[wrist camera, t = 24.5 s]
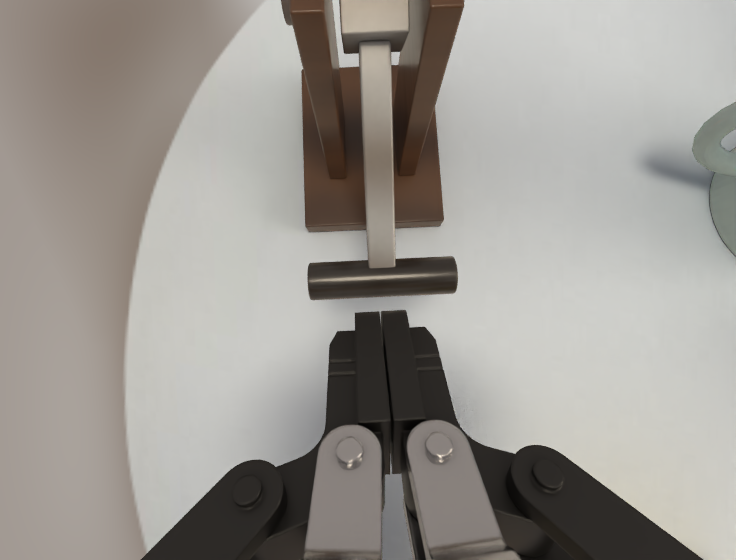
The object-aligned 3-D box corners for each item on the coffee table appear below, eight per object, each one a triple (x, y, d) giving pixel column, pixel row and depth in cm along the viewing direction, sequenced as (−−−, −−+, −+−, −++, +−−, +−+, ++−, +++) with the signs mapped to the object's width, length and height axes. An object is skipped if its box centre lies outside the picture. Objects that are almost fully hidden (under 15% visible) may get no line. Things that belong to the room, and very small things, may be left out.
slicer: (440, 226, 23) (528, 93, 10) (308, 232, 23) (235, 106, 10) (428, 76, 25) (493, -201, 12) (304, 81, 24) (236, -191, 12)
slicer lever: (447, 283, 17) (460, 302, 15) (315, 289, 17) (308, 309, 15) (453, -40, 14) (472, -79, 11) (285, -33, 14) (271, -71, 11)
